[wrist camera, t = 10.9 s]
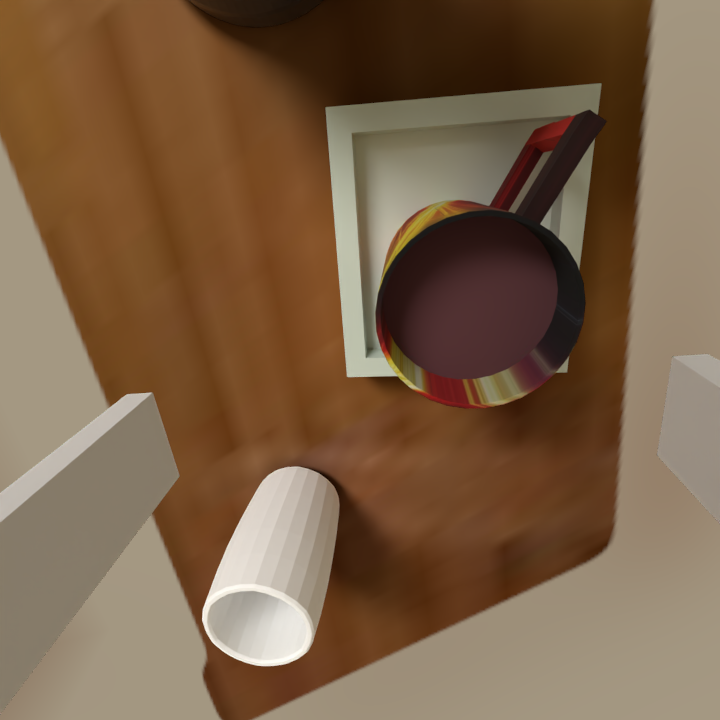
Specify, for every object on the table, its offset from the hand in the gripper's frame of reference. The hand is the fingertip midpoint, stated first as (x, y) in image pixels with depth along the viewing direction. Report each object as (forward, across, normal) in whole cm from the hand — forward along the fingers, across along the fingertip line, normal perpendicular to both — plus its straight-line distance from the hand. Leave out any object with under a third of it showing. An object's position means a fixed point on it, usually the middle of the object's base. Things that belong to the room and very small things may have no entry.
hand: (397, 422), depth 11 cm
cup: (+24, -12, -21) cm, 34 cm away
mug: (+22, +4, +1) cm, 23 cm away
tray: (+24, +4, +1) cm, 25 cm away
